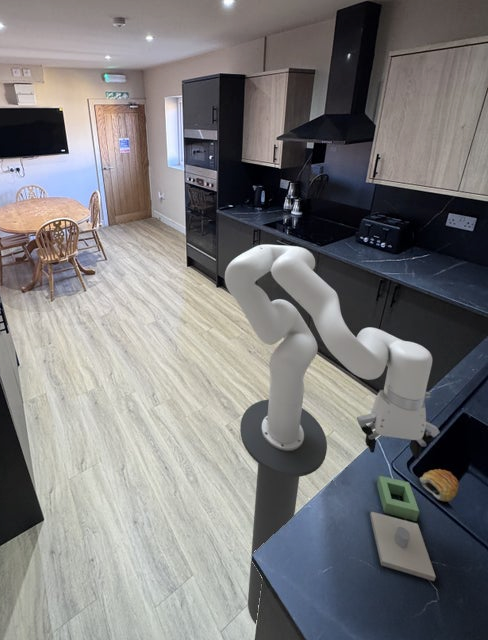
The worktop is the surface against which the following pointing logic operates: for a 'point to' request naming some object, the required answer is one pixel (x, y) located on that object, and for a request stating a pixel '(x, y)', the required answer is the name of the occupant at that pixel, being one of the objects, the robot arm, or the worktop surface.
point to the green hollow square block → (396, 507)
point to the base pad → (398, 554)
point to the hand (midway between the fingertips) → (391, 450)
